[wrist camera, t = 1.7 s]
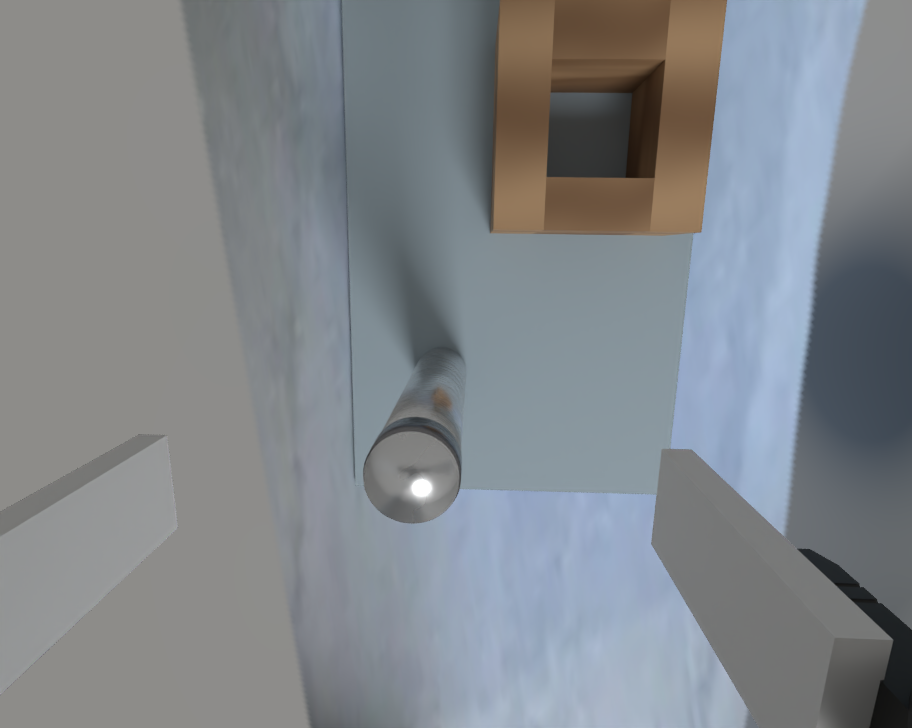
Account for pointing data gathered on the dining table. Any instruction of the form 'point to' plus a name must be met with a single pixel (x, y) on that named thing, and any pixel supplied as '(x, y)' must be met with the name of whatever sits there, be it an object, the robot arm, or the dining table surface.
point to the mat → (499, 265)
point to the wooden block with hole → (606, 71)
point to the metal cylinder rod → (421, 443)
